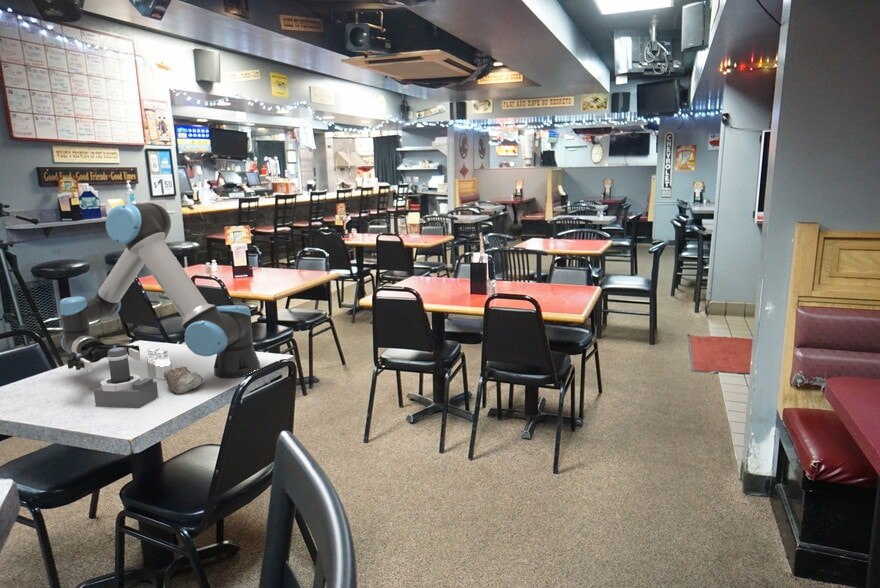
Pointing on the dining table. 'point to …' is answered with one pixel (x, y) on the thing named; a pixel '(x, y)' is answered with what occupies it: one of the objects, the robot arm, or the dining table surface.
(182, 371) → the grey brown rock
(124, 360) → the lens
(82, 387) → the dining table surface
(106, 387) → the pen holder base
